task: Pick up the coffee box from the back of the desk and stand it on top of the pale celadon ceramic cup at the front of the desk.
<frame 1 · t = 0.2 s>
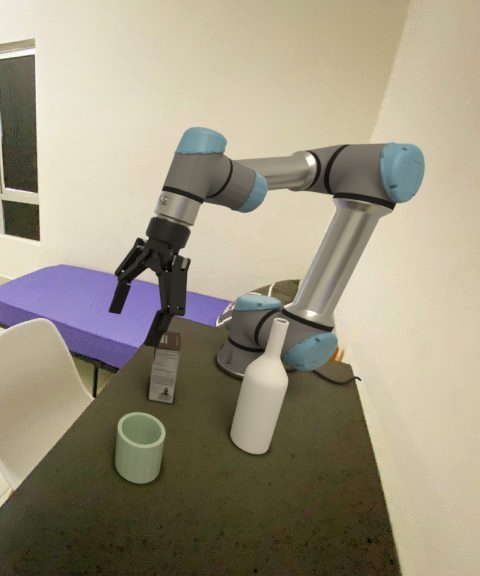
hand: (130, 327, 64), 27 cm above the table, tool tilted 15°, fingers open, 13 cm apart
bottle: (248, 440, 75), on the table
cup: (137, 463, 68), on the table
coffee box: (160, 391, 90), on the table
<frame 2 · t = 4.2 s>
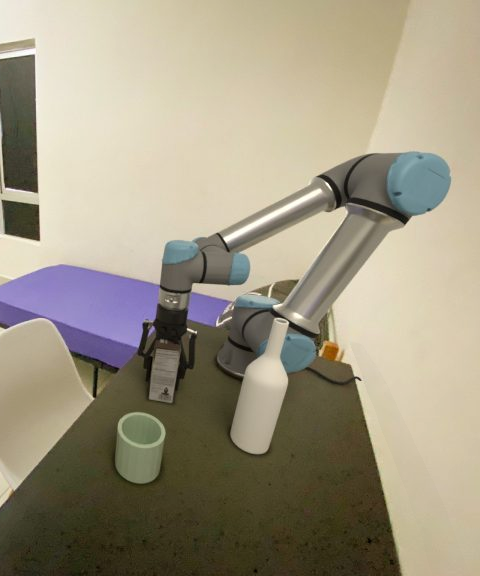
hand: (162, 383, 89), 3 cm above the table, tool pointing down, fingers closed on coffee box, 7 cm apart
coffee box: (160, 391, 90), on the table, touching gripper
everything else where it was.
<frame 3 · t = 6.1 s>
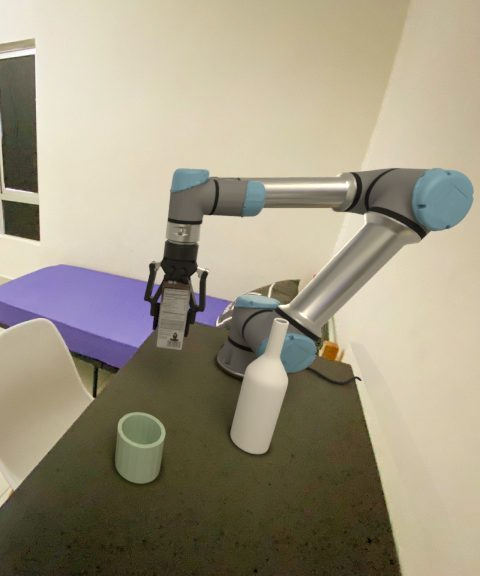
hand: (170, 331, 83), 18 cm above the table, tool pointing down, fingers closed on coffee box, 7 cm apart
coffee box: (169, 340, 84), point 15 cm above the table, touching gripper
everything else where it was.
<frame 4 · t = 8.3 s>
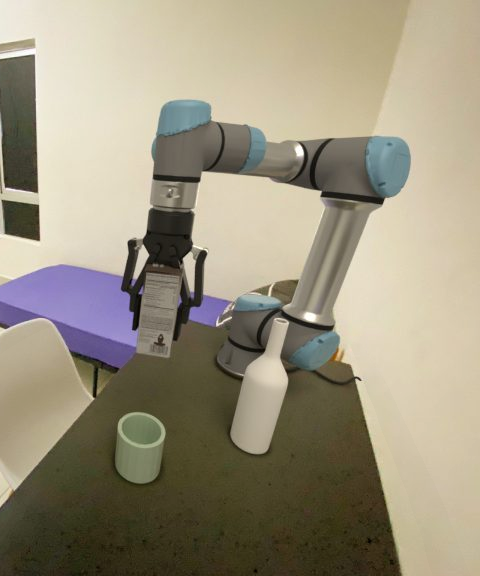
hand: (155, 332, 63), 28 cm above the table, tool pointing down, fingers closed on coffee box, 7 cm apart
coffee box: (154, 345, 64), point 25 cm above the table, touching gripper
everything else where it was.
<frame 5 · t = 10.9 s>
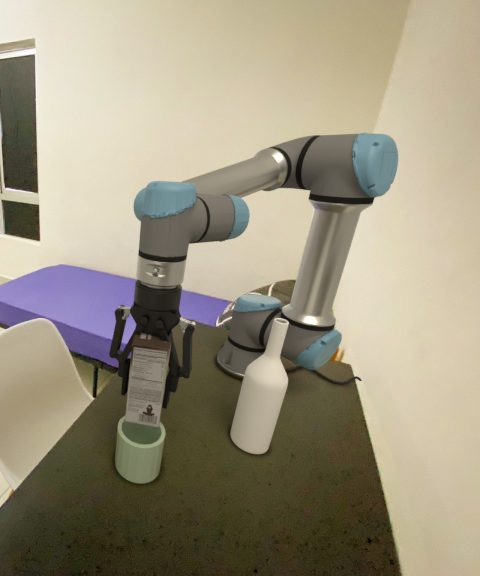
hand: (145, 397, 62), 17 cm above the table, tool pointing down, fingers closed on coffee box, 7 cm apart
coffee box: (143, 409, 63), point 14 cm above the table, touching gripper
everything else where it was.
when the fingers open (12 cm above the table, at t = 12.6 s): coffee box stays where it is, resting on cup.
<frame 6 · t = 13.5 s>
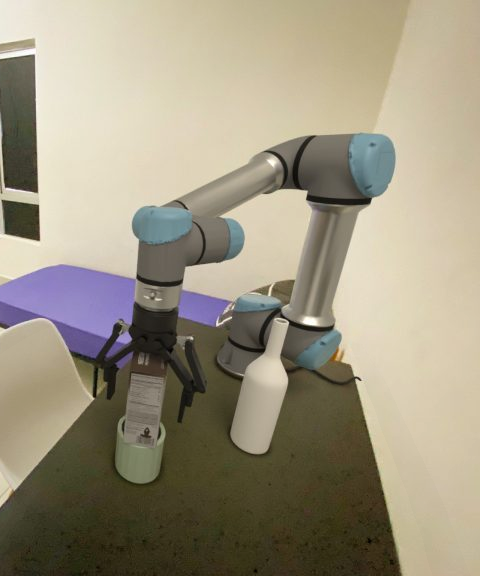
hand: (144, 406, 63), 14 cm above the table, tool pointing down, fingers open, 13 cm apart
coffee box: (141, 429, 65), point 9 cm above the table, touching cup
everything else where it was.
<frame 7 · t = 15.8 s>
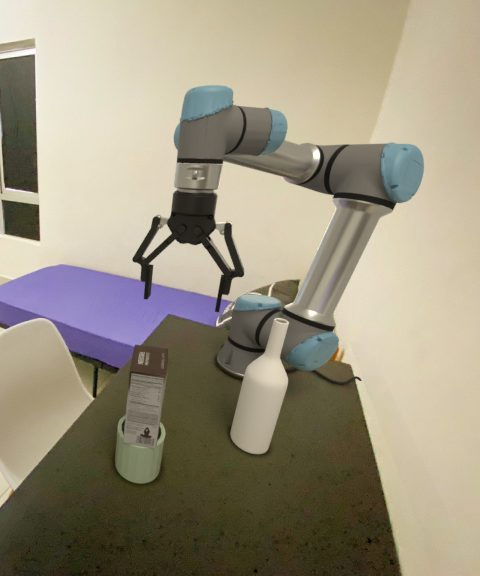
hand: (181, 303, 65), 32 cm above the table, tool pointing down, fingers open, 13 cm apart
nothing on the table moved.
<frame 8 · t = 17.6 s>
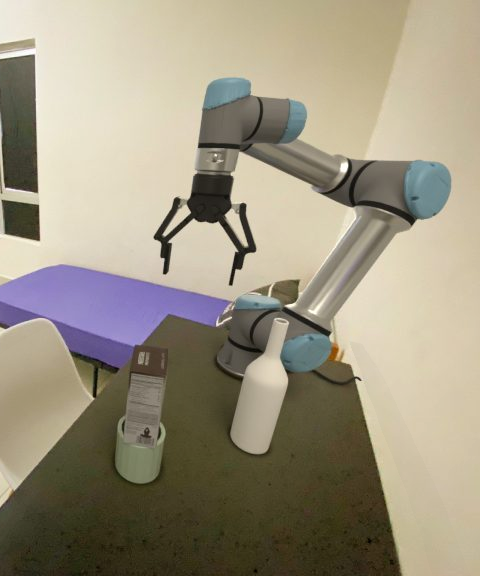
hand: (197, 278, 71), 35 cm above the table, tool pointing down, fingers open, 13 cm apart
nothing on the table moved.
at the end: coffee box 0.0 cm off-centre on the cup, point 8.8 cm above the cup's base; coffee box tilted 0°; coffee box touching cup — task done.
